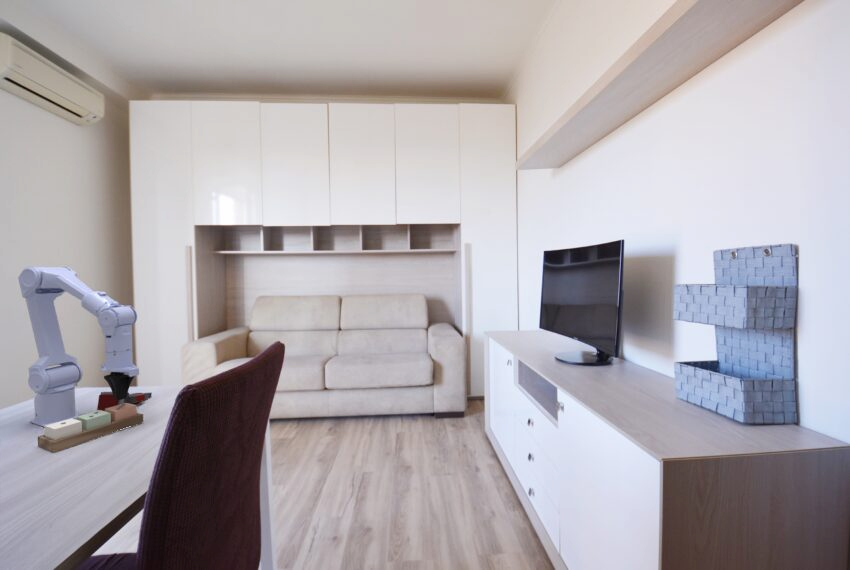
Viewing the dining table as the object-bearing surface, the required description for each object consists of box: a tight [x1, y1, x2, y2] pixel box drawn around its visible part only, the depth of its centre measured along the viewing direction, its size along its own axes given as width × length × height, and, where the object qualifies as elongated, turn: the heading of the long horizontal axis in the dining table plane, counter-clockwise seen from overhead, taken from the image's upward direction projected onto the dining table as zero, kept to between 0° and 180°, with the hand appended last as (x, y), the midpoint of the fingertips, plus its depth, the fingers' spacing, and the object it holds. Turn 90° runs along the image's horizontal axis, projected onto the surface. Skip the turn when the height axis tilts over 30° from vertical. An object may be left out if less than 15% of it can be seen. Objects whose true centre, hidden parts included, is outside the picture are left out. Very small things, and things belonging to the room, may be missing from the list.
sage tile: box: [76, 410, 111, 431], centre depth 94 cm, size 5×5×4 cm
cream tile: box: [44, 418, 82, 441], centre depth 89 cm, size 5×5×4 cm
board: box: [37, 412, 144, 454], centre depth 94 cm, size 8×19×2 cm, turn 156°
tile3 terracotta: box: [105, 403, 138, 422], centre depth 100 cm, size 5×5×4 cm
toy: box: [96, 391, 152, 411], centre depth 115 cm, size 9×6×15 cm
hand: (120, 399), depth 100 cm, fingers closed
